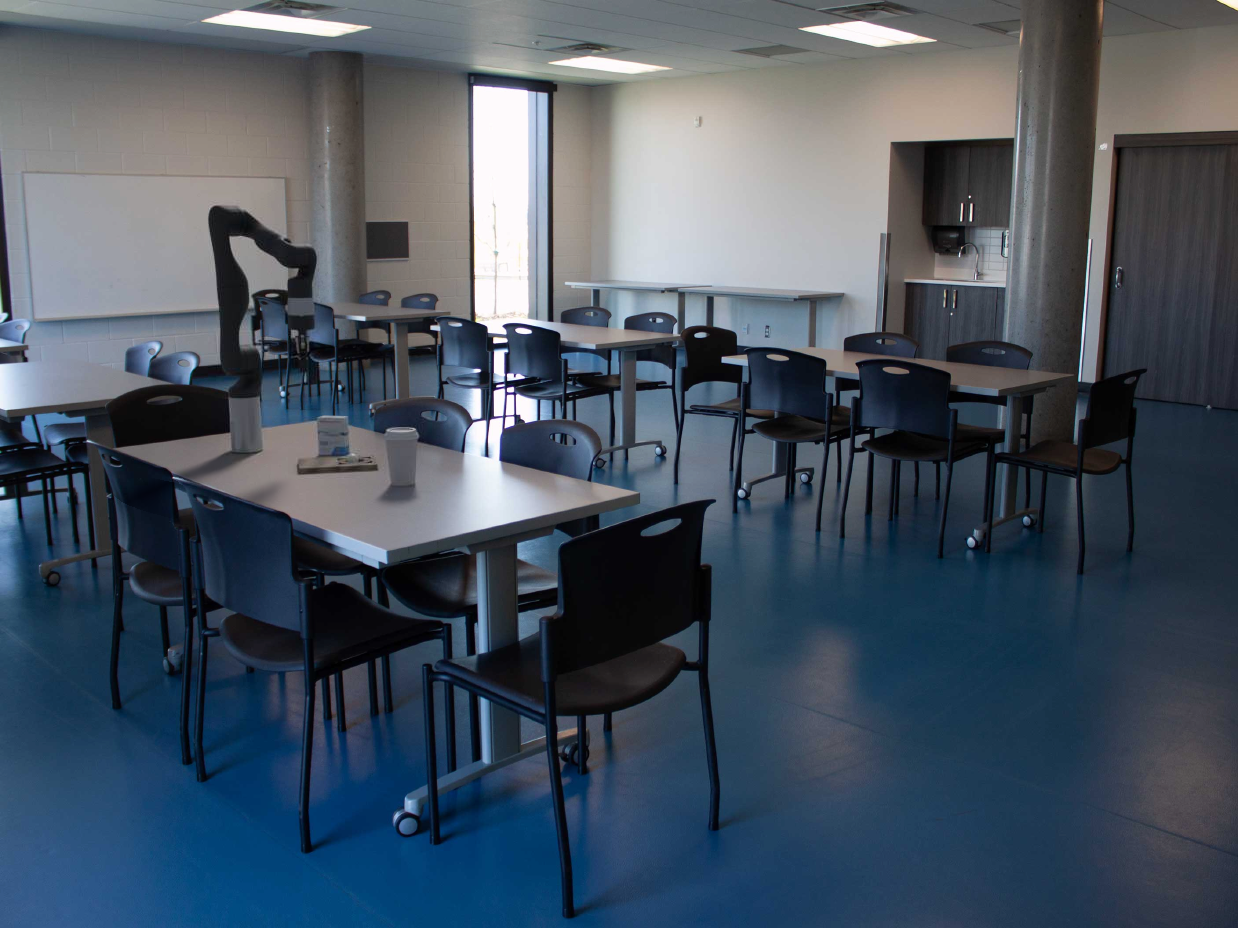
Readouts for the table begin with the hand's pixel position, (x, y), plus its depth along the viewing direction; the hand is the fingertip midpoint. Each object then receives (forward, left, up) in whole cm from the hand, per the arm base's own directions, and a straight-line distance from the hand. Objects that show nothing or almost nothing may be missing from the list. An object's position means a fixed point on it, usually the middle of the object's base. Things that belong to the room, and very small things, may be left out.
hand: (303, 372), depth 322 cm
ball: (+12, -10, -25) cm, 30 cm away
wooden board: (+8, -11, -27) cm, 30 cm away
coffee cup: (+24, -39, -27) cm, 53 cm away
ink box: (+8, +10, -27) cm, 30 cm away
